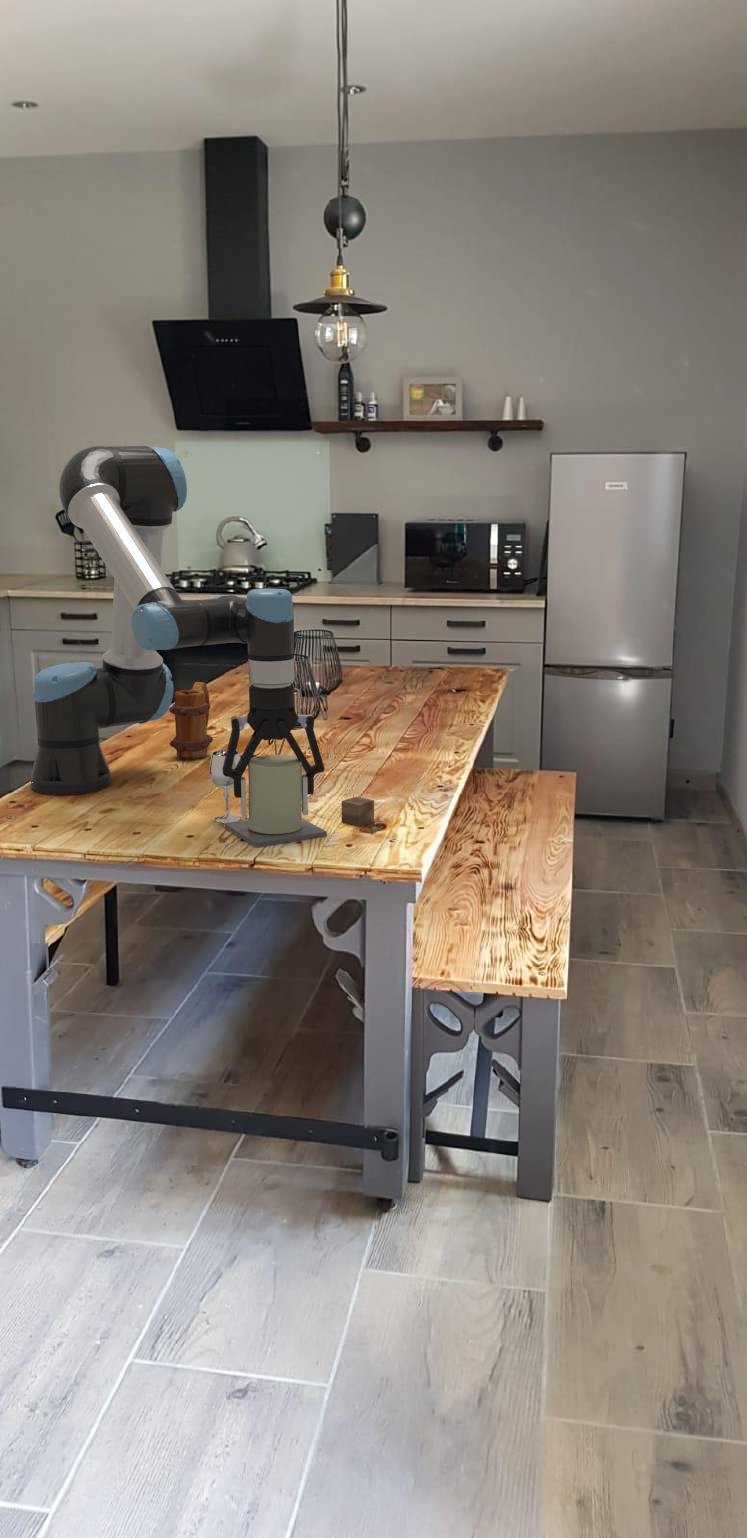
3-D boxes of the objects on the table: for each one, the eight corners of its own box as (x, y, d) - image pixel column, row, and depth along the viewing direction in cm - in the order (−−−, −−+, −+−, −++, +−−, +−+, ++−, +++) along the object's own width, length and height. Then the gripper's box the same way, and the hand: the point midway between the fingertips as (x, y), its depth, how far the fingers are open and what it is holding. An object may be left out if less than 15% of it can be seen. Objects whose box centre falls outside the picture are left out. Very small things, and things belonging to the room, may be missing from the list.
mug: (202, 762, 256) (200, 692, 253) (165, 761, 258) (162, 690, 254) (224, 747, 270) (222, 680, 267) (189, 746, 272) (187, 679, 268)
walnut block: (358, 827, 211) (358, 805, 210) (341, 823, 213) (341, 801, 212) (374, 822, 214) (374, 800, 213) (356, 818, 216) (356, 796, 215)
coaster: (255, 847, 199) (255, 842, 199) (224, 827, 210) (224, 823, 210) (326, 835, 206) (326, 831, 205) (292, 817, 216) (292, 812, 216)
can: (274, 815, 214) (274, 749, 211) (313, 826, 208) (314, 757, 205) (236, 826, 207) (235, 758, 204) (275, 838, 201) (275, 767, 198)
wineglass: (245, 814, 218) (243, 749, 215) (242, 823, 213) (240, 756, 210) (212, 815, 218) (210, 749, 215) (209, 824, 212) (207, 757, 209)
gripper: (335, 678, 207) (336, 805, 213) (202, 682, 204) (207, 811, 209) (341, 685, 200) (342, 817, 205) (204, 689, 196) (209, 823, 202)
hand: (274, 814), depth 207 cm, fingers open, 10 cm apart
